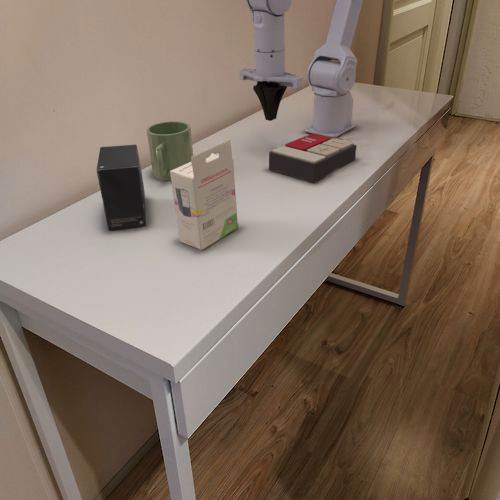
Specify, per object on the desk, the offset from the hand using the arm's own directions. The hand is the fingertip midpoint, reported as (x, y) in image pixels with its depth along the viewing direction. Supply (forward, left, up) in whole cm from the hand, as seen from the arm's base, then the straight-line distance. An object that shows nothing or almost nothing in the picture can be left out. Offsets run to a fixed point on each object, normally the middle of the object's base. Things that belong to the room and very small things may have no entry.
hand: (270, 119), depth 104 cm
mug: (+21, -8, -7) cm, 24 cm away
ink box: (+34, +14, -7) cm, 38 cm away
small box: (+37, -2, -7) cm, 38 cm away
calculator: (+1, +11, -7) cm, 13 cm away
